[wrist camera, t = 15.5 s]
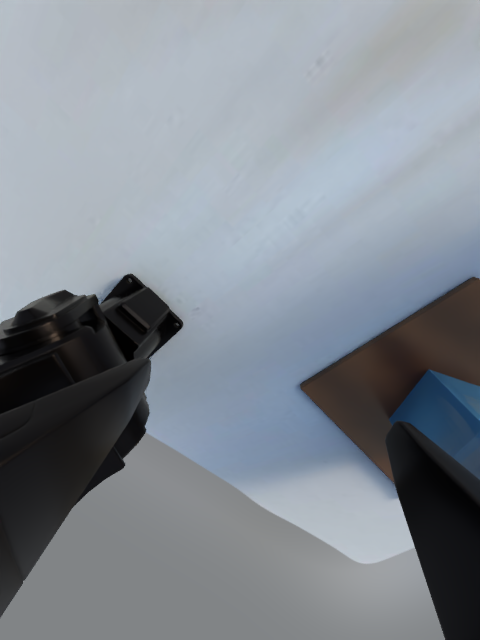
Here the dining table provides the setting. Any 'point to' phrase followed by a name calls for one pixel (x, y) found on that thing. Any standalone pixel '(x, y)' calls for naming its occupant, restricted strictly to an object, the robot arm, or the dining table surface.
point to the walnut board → (400, 368)
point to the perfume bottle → (446, 416)
